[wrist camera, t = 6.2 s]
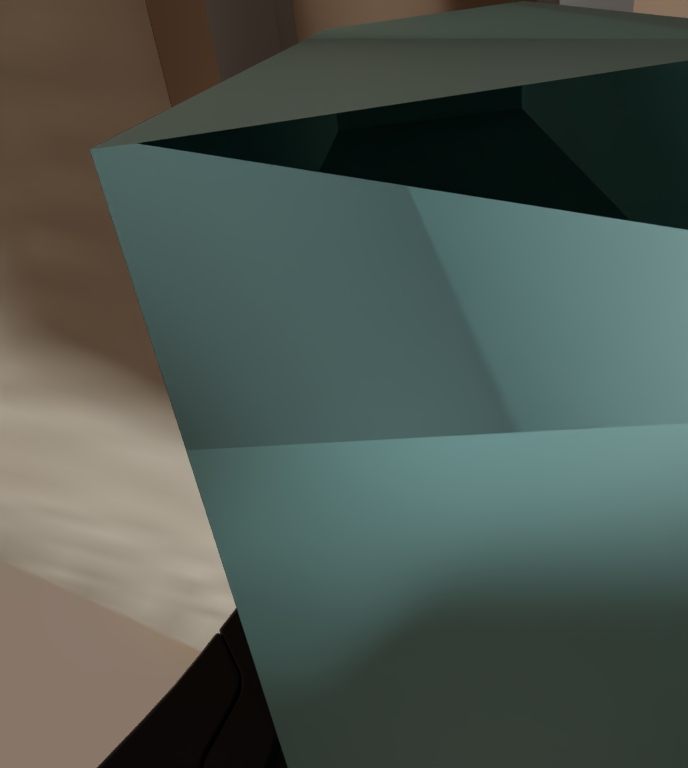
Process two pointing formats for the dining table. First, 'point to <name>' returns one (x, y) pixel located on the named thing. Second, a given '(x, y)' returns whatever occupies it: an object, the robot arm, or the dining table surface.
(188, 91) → the track
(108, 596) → the dining table surface
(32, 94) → the dining table surface
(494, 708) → the door panel
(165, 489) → the dining table surface
